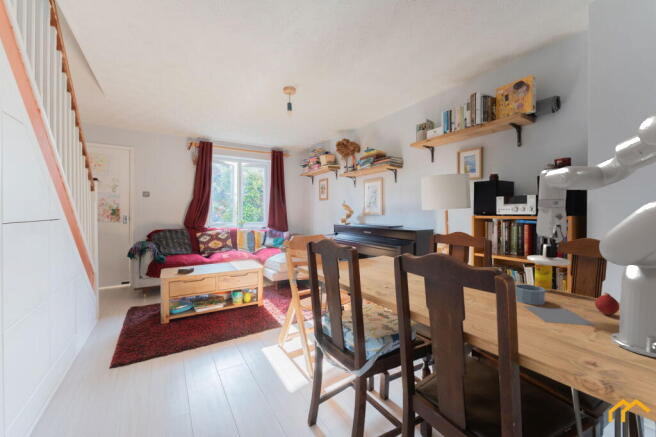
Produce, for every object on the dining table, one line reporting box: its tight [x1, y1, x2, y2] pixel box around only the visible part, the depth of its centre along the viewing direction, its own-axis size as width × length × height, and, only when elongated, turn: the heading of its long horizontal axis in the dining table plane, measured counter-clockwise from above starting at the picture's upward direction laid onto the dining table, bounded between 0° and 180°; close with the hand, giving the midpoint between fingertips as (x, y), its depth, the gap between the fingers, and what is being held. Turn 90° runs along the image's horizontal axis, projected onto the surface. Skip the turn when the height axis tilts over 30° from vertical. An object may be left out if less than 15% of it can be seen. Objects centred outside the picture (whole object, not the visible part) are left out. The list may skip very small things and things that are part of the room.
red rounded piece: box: [594, 292, 620, 316], centre depth 96 cm, size 6×6×8 cm
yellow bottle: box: [534, 262, 553, 292], centre depth 126 cm, size 6×6×15 cm
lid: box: [526, 244, 571, 267], centre depth 100 cm, size 12×12×6 cm
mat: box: [523, 305, 597, 327], centre depth 96 cm, size 15×14×1 cm
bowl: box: [516, 283, 546, 306], centre depth 111 cm, size 10×10×6 cm
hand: (548, 256), depth 100 cm, fingers closed on lid, 3 cm apart
